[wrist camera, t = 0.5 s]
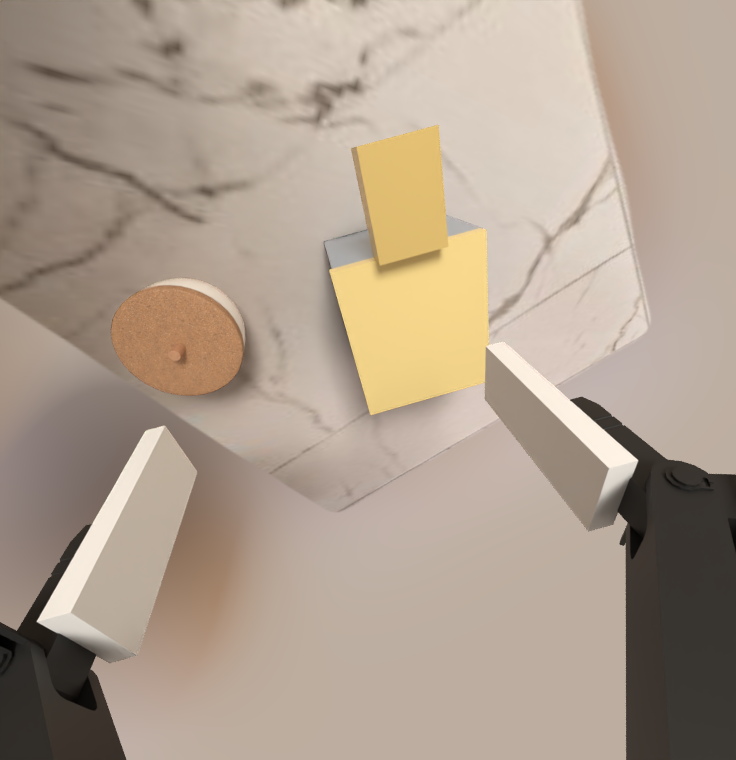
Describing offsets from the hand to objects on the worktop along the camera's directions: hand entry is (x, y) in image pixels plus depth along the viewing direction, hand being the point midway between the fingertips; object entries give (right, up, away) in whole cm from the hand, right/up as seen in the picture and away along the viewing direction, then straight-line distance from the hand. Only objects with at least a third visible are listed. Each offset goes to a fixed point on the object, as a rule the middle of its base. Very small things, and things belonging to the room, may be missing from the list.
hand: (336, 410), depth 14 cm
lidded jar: (-17, +8, +23) cm, 30 cm away
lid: (+5, +8, +14) cm, 17 cm away
